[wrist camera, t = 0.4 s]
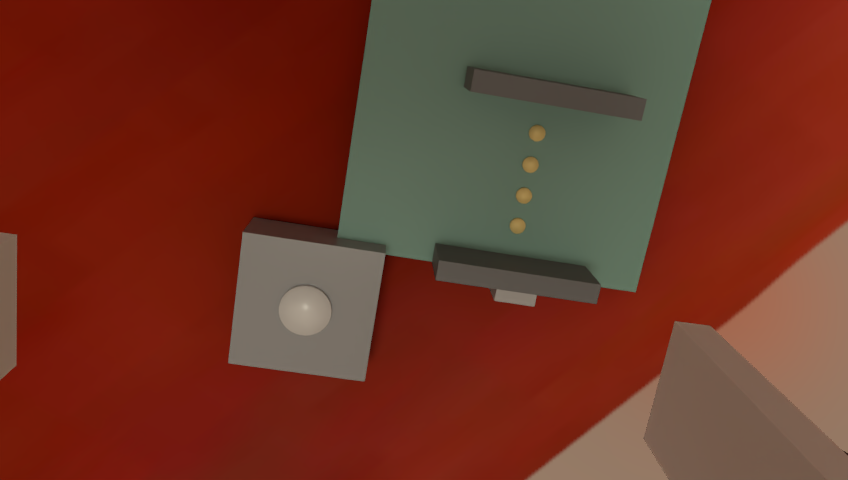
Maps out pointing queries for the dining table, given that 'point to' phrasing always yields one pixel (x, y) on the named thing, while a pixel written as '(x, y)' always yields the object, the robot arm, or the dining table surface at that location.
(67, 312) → the dining table surface
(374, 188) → the board
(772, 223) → the dining table surface
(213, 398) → the dining table surface
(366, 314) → the button
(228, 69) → the dining table surface
